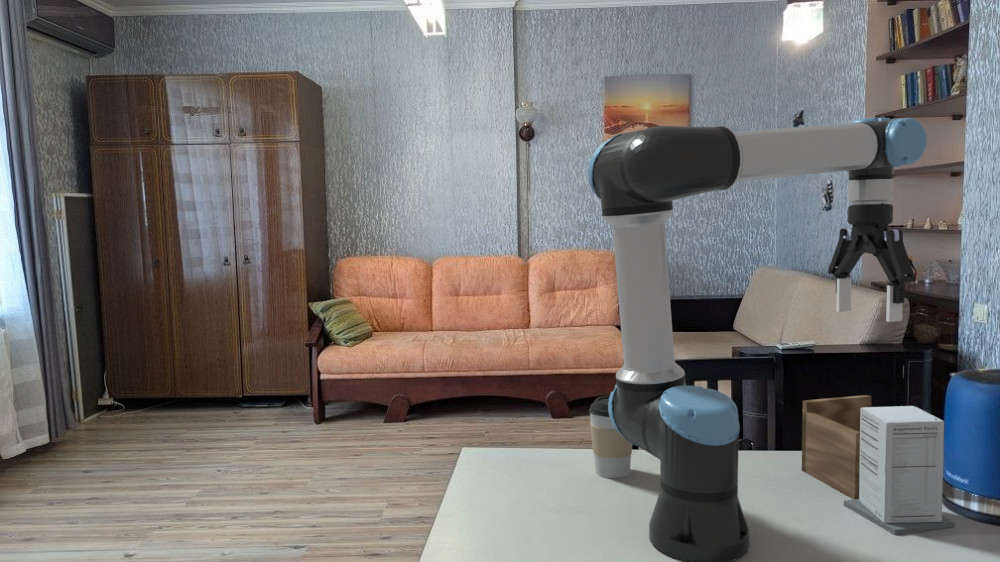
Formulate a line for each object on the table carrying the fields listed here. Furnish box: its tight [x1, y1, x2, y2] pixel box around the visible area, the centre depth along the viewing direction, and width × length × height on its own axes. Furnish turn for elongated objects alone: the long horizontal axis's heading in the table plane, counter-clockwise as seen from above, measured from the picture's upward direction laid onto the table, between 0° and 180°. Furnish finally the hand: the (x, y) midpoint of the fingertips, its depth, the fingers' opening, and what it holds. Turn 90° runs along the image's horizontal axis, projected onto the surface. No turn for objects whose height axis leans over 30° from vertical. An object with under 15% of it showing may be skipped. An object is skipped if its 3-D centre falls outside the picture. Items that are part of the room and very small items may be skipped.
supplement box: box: [859, 405, 945, 523], centre depth 120 cm, size 10×9×17 cm
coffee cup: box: [588, 395, 633, 479], centre depth 144 cm, size 9×9×15 cm
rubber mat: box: [843, 499, 955, 536], centre depth 122 cm, size 11×12×1 cm
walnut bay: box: [801, 394, 873, 500], centre depth 137 cm, size 14×15×14 cm
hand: (867, 316), depth 138 cm, fingers open, 13 cm apart
